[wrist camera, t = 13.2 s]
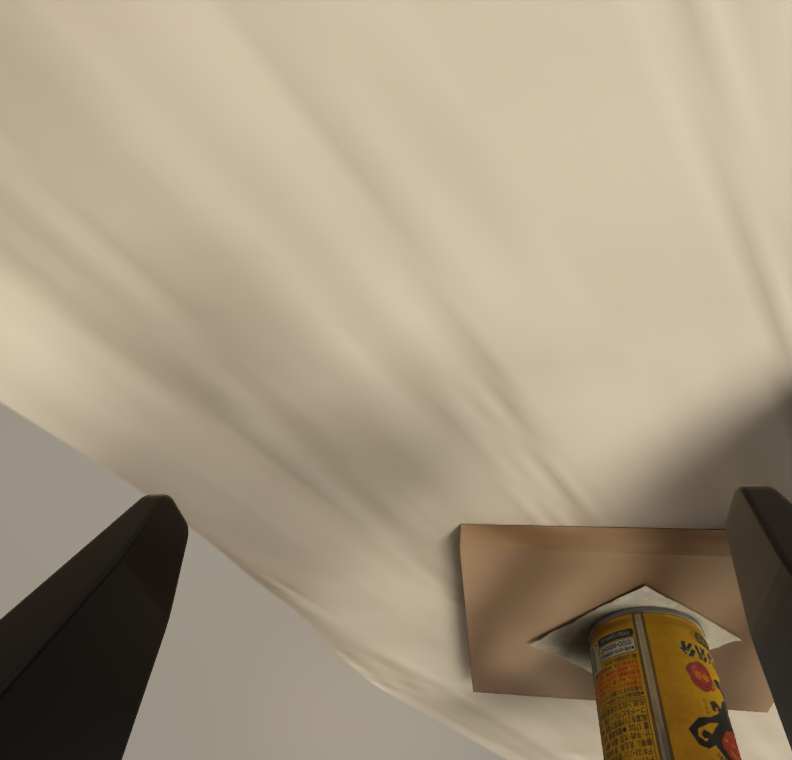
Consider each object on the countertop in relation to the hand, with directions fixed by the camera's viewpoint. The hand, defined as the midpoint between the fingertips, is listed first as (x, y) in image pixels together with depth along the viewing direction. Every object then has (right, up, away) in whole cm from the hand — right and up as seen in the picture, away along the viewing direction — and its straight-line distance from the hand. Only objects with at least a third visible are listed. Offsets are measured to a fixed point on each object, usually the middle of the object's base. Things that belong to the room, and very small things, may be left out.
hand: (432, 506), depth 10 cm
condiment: (+12, -12, +24) cm, 30 cm away
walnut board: (+13, -11, +25) cm, 30 cm away
